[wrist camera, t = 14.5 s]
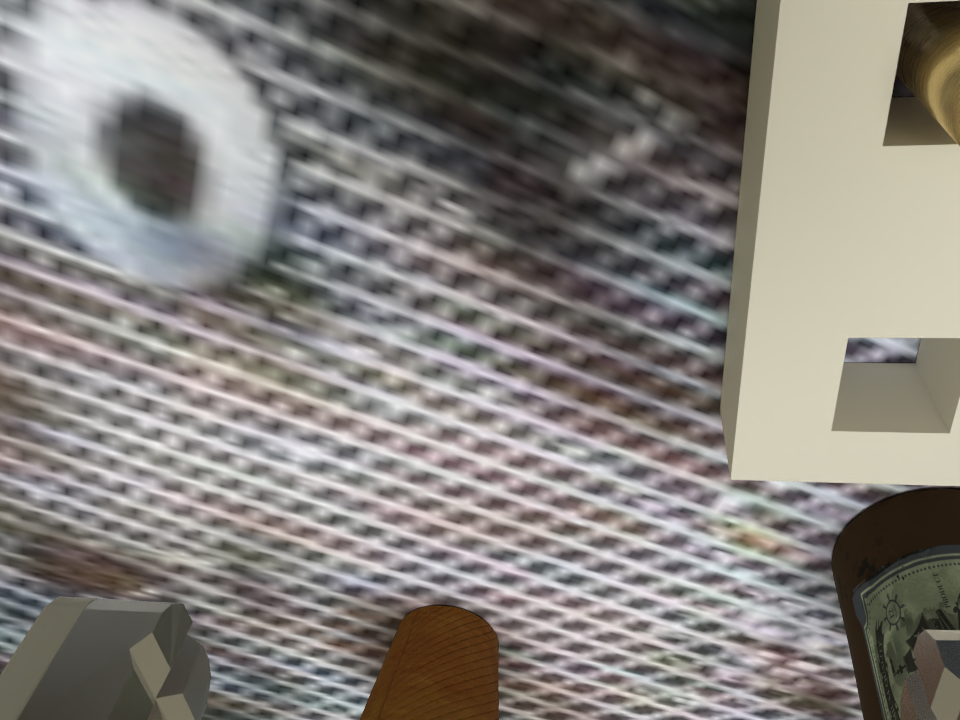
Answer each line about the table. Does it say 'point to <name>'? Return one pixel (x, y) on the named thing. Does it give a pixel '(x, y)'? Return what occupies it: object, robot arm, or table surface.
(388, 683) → the disposable coffee cup
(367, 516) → the table surface
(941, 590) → the brown glass bottle
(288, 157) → the table surface
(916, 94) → the brass pin
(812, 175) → the hole block
